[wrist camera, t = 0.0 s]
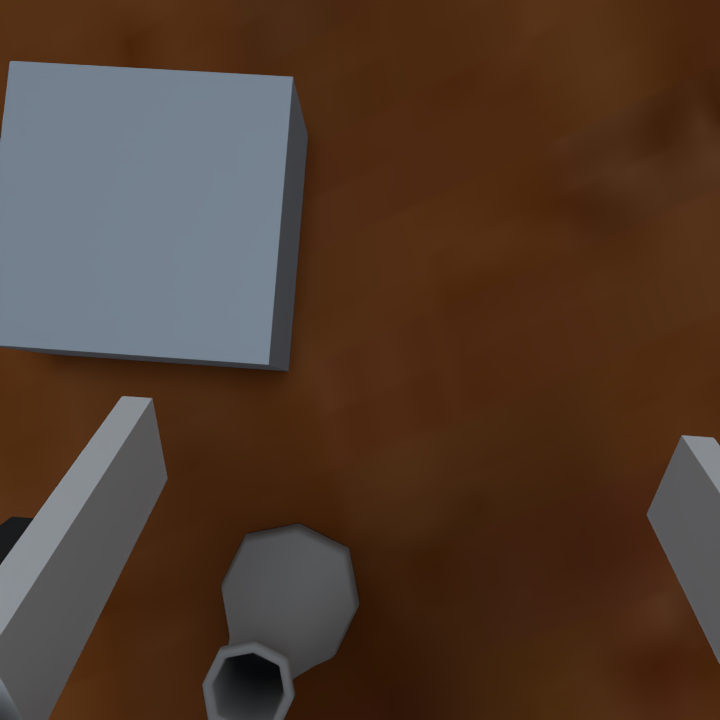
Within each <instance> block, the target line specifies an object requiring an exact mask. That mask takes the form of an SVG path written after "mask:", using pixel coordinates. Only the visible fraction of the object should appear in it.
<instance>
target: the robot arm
mask: <svg viewBox="0 0 720 720" xmlns="http://www.w3.org/2000/svg"><path fill="white" fill-rule="evenodd" d="M166 481H167V473H166V468H165V463H164V458H163V452H162V447H161V442H160V437H159V431H158V426H157V421H156V416H155V411H154V405H153V400H152V398H141V397H127V396H122V397H121V399H120V400H119V401H118V403H117V404H116V405H115V407H114V408H113V410H112V411H111V412H110V414H109V415H108V417H107V418H106V419H105V421H104V422H103V423H102V425H101V426H100V428H99V429H98V430H97V432H96V433H95V435H94V436H93V437H92V439H91V440H90V441H89V443H88V444H87V446H86V447H85V448H84V450H83V451H82V453H81V454H80V455H79V457H78V458H77V459H76V461H75V462H74V464H73V465H72V466H71V468H70V469H69V471H68V472H67V473H66V475H65V476H64V477H63V479H62V480H61V482H60V483H59V484H58V486H57V487H56V489H55V490H54V491H53V493H52V494H51V496H50V497H49V498H48V500H47V501H46V502H45V504H44V505H43V507H42V508H41V509H40V511H39V512H38V514H37V515H36V516H35V518H22V517H11V518H9V519H8V520H7V521H5V522H4V523H3V524H1V525H0V720H48V718H49V716H50V714H51V712H52V710H53V708H54V706H55V704H56V702H57V700H58V698H59V696H60V694H61V692H62V690H63V688H64V686H65V684H66V682H67V680H68V678H69V676H70V674H71V672H72V670H73V668H74V666H75V664H76V662H77V660H78V658H79V656H80V654H81V652H82V650H83V648H84V646H85V644H86V642H87V640H88V638H89V636H90V634H91V632H92V630H93V628H94V626H95V624H96V622H97V620H98V618H99V616H100V614H101V612H102V610H103V608H104V606H105V604H106V602H107V600H108V598H109V596H110V594H111V592H112V590H113V588H114V586H115V584H116V582H117V580H118V578H119V575H120V573H121V571H122V569H123V567H124V565H125V563H126V561H127V559H128V557H129V555H130V553H131V551H132V549H133V547H134V545H135V543H136V541H137V539H138V537H139V535H140V533H141V531H142V529H143V527H144V525H145V523H146V521H147V519H148V517H149V515H150V513H151V511H152V509H153V507H154V505H155V503H156V501H157V499H158V497H159V495H160V493H161V491H162V489H163V487H164V485H165V483H166ZM647 516H648V519H649V521H650V523H651V525H652V527H653V529H654V531H655V533H656V535H657V537H658V539H659V541H660V543H661V545H662V547H663V549H664V551H665V553H666V555H667V557H668V560H669V562H670V564H671V566H672V568H673V570H674V572H675V574H676V576H677V578H678V580H679V582H680V584H681V586H682V588H683V590H684V592H685V594H686V596H687V598H688V600H689V603H690V605H691V607H692V609H693V611H694V613H695V615H696V617H697V619H698V621H699V623H700V625H701V627H702V629H703V631H704V633H705V635H706V637H707V639H708V641H709V643H710V646H711V648H712V650H713V652H714V654H715V656H716V658H717V660H718V662H719V664H720V446H719V445H718V443H717V442H716V440H715V439H714V438H710V437H696V436H681V438H680V440H679V443H678V445H677V447H676V449H675V452H674V454H673V456H672V458H671V461H670V463H669V465H668V467H667V470H666V472H665V474H664V476H663V479H662V481H661V483H660V485H659V488H658V490H657V492H656V495H655V497H654V499H653V501H652V504H651V506H650V508H649V510H648V513H647Z"/></svg>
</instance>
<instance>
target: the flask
mask: <svg viewBox="0 0 720 720" xmlns="http://www.w3.org/2000/svg"><path fill="white" fill-rule="evenodd" d="M221 587H222V594H223V600H224V605H225V611H226V617H227V623H228V629H229V636H230V639H229V644H228V645H226V646H222V647H221V648H220V649H219V651H218V653H217V655H216V657H215V660H214V662H213V664H212V666H211V668H210V670H209V672H208V674H207V676H206V678H205V680H204V682H203V684H202V686H203V692H204V698H205V704H206V710H207V716H208V720H284V718H285V716H286V713H287V711H288V709H289V707H290V705H291V703H292V701H293V699H294V696H295V692H294V686H293V681H292V680H293V679H294V678H295V677H297V676H299V675H300V674H302V673H304V672H305V671H307V670H309V669H310V668H312V667H314V666H316V665H318V664H320V663H322V662H324V661H327V660H329V659H331V658H332V657H334V656H335V655H336V653H337V651H338V649H339V647H340V645H341V643H342V641H343V638H344V636H345V634H346V632H347V630H348V628H349V626H350V624H351V621H352V619H353V617H354V615H355V613H356V611H357V609H358V607H359V605H360V603H359V598H358V593H357V587H356V582H355V577H354V572H353V566H352V561H351V556H350V550H349V548H348V547H346V546H344V545H342V544H340V543H338V542H336V541H334V540H332V539H330V538H328V537H326V536H324V535H322V534H320V533H318V532H316V531H314V530H312V529H310V528H308V527H306V526H304V525H302V524H300V523H299V524H294V525H289V526H284V527H279V528H273V529H268V530H263V531H258V532H253V533H248V534H245V536H244V538H243V541H242V543H241V545H240V547H239V549H238V551H237V553H236V555H235V557H234V559H233V561H232V563H231V565H230V567H229V569H228V571H227V573H226V575H225V578H224V580H223V582H222V584H221Z"/></svg>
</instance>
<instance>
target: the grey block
mask: <svg viewBox="0 0 720 720" xmlns="http://www.w3.org/2000/svg"><path fill="white" fill-rule="evenodd" d="M307 140H308V135H307V131H306V127H305V123H304V119H303V115H302V111H301V107H300V103H299V99H298V95H297V91H296V87H295V83H294V79H293V77H285V76H268V75H250V74H232V73H214V72H197V71H179V70H161V69H143V68H125V67H108V66H90V65H72V64H54V63H37V62H19V61H10V66H9V74H8V82H7V91H6V99H5V107H4V116H3V124H2V132H1V141H0V347H3V348H10V349H17V350H24V351H31V352H39V353H46V354H55V355H69V356H83V357H97V358H111V359H125V360H139V361H153V362H166V363H180V364H194V365H208V366H222V367H236V368H250V369H264V370H278V371H289V360H290V347H291V335H292V323H293V311H294V299H295V286H296V274H297V262H298V250H299V237H300V225H301V213H302V201H303V189H304V176H305V164H306V152H307Z"/></svg>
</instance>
